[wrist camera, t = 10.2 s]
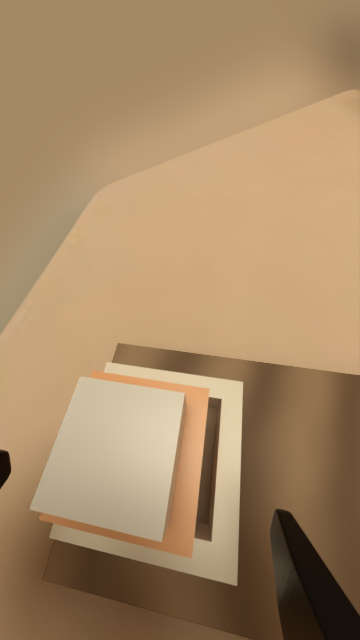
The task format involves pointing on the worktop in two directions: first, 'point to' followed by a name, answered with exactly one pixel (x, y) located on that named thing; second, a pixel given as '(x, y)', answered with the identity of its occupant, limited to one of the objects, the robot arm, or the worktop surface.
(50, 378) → the worktop surface
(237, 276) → the worktop surface
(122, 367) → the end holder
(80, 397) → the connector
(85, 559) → the board
